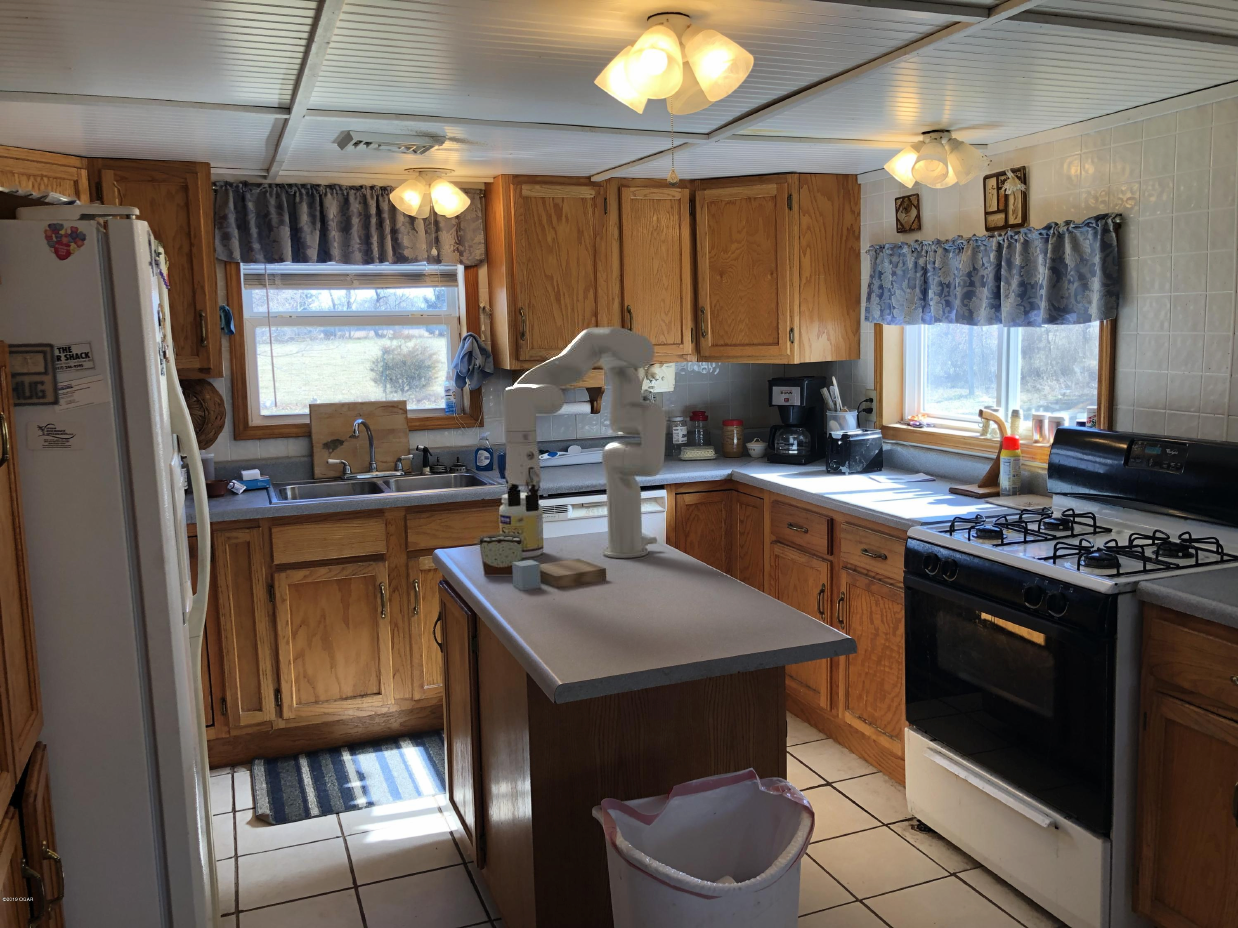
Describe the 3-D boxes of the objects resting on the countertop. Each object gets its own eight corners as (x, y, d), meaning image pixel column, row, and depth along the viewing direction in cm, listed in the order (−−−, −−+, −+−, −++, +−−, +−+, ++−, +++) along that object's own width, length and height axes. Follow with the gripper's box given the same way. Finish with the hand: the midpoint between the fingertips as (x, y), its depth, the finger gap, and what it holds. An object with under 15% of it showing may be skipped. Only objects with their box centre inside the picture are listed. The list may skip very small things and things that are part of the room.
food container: (530, 570, 260) (528, 532, 258) (525, 575, 254) (524, 537, 252) (484, 570, 261) (482, 533, 260) (478, 575, 255) (476, 537, 254)
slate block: (531, 583, 245) (530, 559, 245) (540, 587, 241) (539, 563, 240) (513, 586, 243) (512, 562, 242) (522, 590, 238) (521, 566, 238)
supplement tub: (493, 558, 276) (491, 498, 274) (511, 549, 287) (508, 491, 285) (534, 559, 272) (532, 499, 270) (550, 550, 284) (548, 492, 282)
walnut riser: (578, 569, 258) (578, 558, 258) (606, 579, 247) (606, 568, 246) (530, 577, 251) (530, 566, 251) (556, 588, 239) (556, 576, 239)
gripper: (551, 439, 232) (553, 511, 234) (519, 434, 247) (521, 502, 249) (522, 441, 228) (525, 514, 230) (491, 436, 243) (494, 505, 245)
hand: (523, 508), depth 239 cm, fingers open, 9 cm apart
